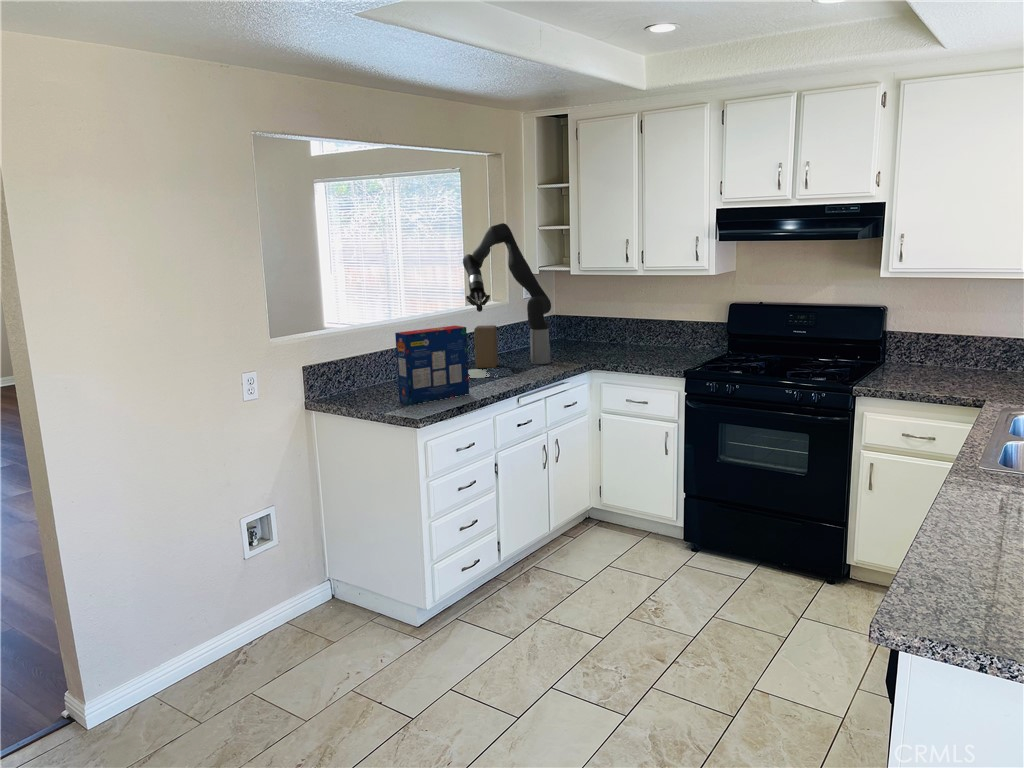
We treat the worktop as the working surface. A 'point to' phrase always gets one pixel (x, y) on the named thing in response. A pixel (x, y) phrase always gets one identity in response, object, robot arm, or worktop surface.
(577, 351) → the worktop surface
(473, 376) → the mat
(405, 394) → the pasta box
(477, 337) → the wooden block
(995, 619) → the worktop surface
